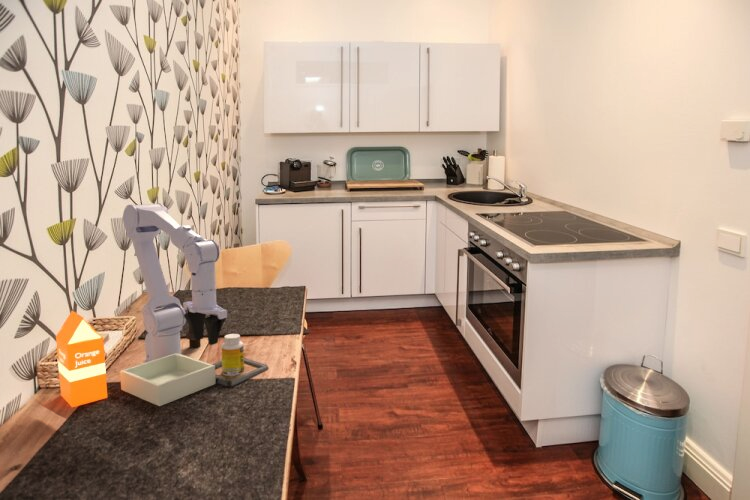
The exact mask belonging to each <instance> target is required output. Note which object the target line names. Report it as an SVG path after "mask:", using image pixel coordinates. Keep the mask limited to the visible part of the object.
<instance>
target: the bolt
mask: <svg viewBox="0 0 750 500" xmlns="http://www.w3.org/2000/svg"><path fill="white" fill-rule="evenodd" d="M188 301H191V302H192V297H191V298H186V299H184V300H183V303H184V302H188ZM183 303H182V304H183ZM186 311H187V313H188V312H189V310H186ZM187 324H188V330H187V331H186V333H185V339H187V340H189V341H188V342H189V349H199V348H201V343H202V342H201V340H202V339H200V340H197V341H196V340H194V337H193V334H192V330H191V328H190V325H189V323H188V322H187Z"/></svg>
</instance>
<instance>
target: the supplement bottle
mask: <svg viewBox="0 0 750 500" xmlns="http://www.w3.org/2000/svg"><path fill="white" fill-rule="evenodd" d="M223 338H224V342H223V343H222V344H221V346H220V347H221V361H222V366H221V369H222V375H223V376H227V377H234V376H235V377H236V376H240V375H242V373H243V374H244V372H245V363H244V358H245V357H244V356H245V355H244V354H245V353H244V351H245V350H244V343H243V341H241V335H240V334H239V333H229V334H226V335H224V337H223Z"/></svg>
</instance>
